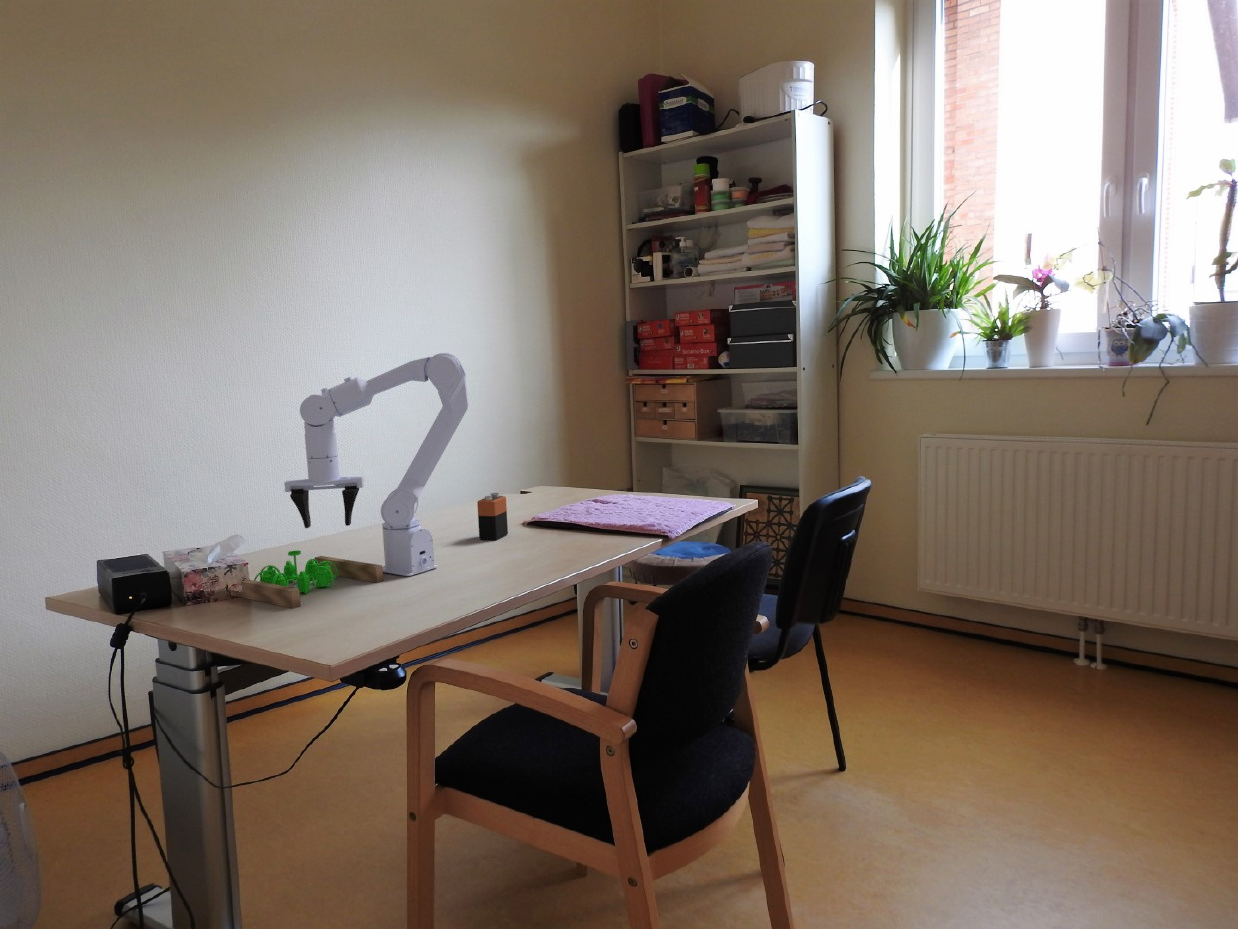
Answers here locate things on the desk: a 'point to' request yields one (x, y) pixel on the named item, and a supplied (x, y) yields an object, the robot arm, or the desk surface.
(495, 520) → the battery
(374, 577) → the pair of wooden bars
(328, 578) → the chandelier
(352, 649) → the desk surface
